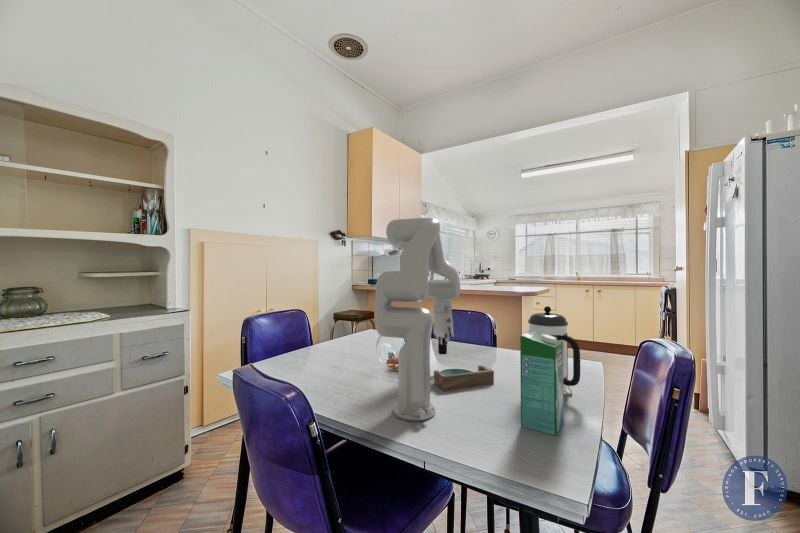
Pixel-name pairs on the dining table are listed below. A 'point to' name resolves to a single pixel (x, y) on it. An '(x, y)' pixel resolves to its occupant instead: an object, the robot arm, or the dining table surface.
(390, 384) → the dining table surface
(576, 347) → the coffee press
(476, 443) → the dining table surface
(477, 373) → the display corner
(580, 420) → the dining table surface
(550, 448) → the dining table surface
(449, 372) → the saucer
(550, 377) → the milk carton
